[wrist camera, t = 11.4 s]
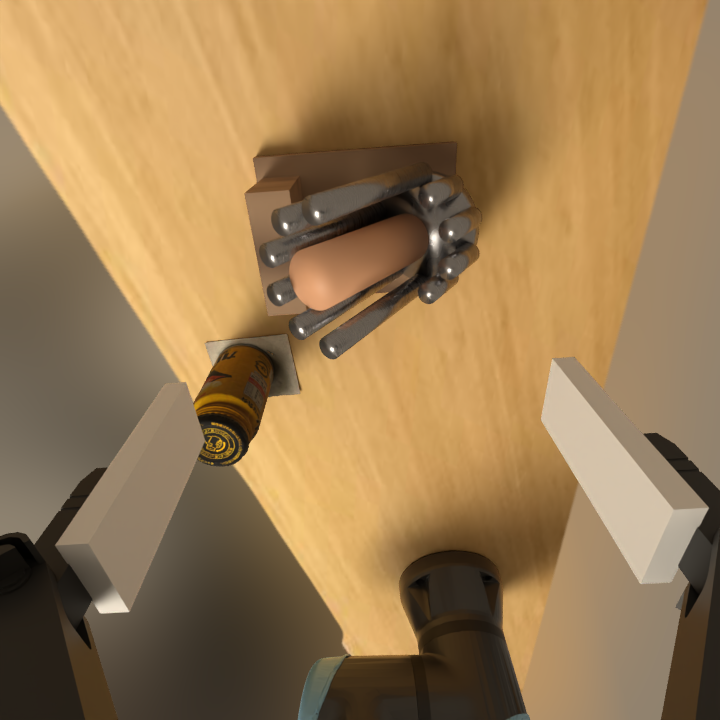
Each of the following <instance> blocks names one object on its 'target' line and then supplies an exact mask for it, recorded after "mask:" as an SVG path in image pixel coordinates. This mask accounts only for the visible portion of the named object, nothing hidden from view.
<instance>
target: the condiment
mask: <svg viewBox="0 0 720 720" xmlns="http://www.w3.org/2000/svg"><path fill="white" fill-rule="evenodd" d="M205 346H206V349H207V352H208V354H209V357H210V360H211V362H212V365H213V368H212V369H211V371H210V373H209V375H208V377H207V379H206V381H205V383H204V385H203V387H202V389H201V391H200V392H199V394H198V396H197V398H196V399H195V401H194V403H193V405H194V408H195V411H196V414H197V417H198V420H199V423H200V426H201V430H202V433H203V436H204V439H205V442H204V444H203V447H202V449H201V451H200V453H199V456H198V458H197V460H199V461H200V462H203V463H205V464H207V465H211V466H229V465H232V464H235V463H236V462H238V461H239V460H240V459H241V458H242V457H243V456H244V455H245V454H246V452H247V451H248V448H249V443H250V442H251V440H252V439H253V438H254V437H255V435H256V434H257V431H258V430H259V426H260V422H261V419H262V415H263V412H264V408H265V405H266V402H267V398H268V397H271V396H280V395H294V394H300V390H299V385H298V380H297V376H296V371H295V366H294V362H293V357H292V354H291V349H290V344H289V340H288V336H287V334H282V335H273V336H265V337H254V338H242V339H234V340H223V341H214V342H207V343H205ZM267 351H269V352H270V353H268V352H267ZM271 353H273V354H274V355H272V354H271Z"/></svg>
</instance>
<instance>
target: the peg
mask: <svg viewBox="0 0 720 720" xmlns="http://www.w3.org/2000/svg"><path fill="white" fill-rule="evenodd" d="M428 241H429V240H428V233H427V230H426V227H425V225H424V224H423V222H422V221H421V220H420V219H419V218H417V217H416V216H414V215H412V214H407V213H404V214H400V215H397V216H394V217H391V218H388V219H386V220H383V221H380V222H377V223H374V224H372V225H369V226H366V227H363V228H360V229H358V230H355V231H352V232H349V233H346V234H344V235H341V236H338V237H335V238H333V239H330V240H327V241H324V242H321V243H319V244H316V245H313V246H310V247H307V248H305V249H302V250H299V251H298V252H297V253H295V255H294V256H293V257H292V259H291V262H290V267H289V276H290V281H291V284H292V287H293V289H294V291H295V293H296V295H297V296H298V298H299V299H300V300H301V301H302V302H303V303H304V304H305V305H306V306H308V307H310V308H312V309H314V310H319V311H321V310H326V309H328V308H330V307H332V306H334V305H336V304H338V303H339V302H341V301H343V300H345V299H347V298H349V297H351V296H352V295H354V294H356V293H358V292H360V291H362V290H364V289H365V288H367V287H369V286H371V285H373V284H375V283H377V282H378V281H380V280H382V279H384V278H386V277H388V276H390V275H391V274H393V273H395V272H397V271H399V270H401V269H403V268H404V267H406V266H408V265H410V264H412V263H414V262H416V261H417V260H419V259H420V258H422V257H423V255H424V254H425V252H426V250H427V247H428Z"/></svg>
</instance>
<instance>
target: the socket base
mask: <svg viewBox="0 0 720 720" xmlns="http://www.w3.org/2000/svg"><path fill="white" fill-rule="evenodd" d="M456 153H457V143H456V142H442V143H429V144H416V145H402V146H389V147H376V148H362V149H349V150H336V151H322V152H309V153H296V154H283V155H269V156H256V157H254V158H253V162H254V167H255V173H256V179H257V183H256V184H255V185H254V186H253V187H252V188H250V189H249V190H248V191H247V192H246V193H244V194H245V199H246V204H247V209H248V214H249V219H250V225H251V230H252V235H253V240H254V245H255V250H256V255H257V261H258V266H259V271H260V276H261V281H262V286H263V291H264V297H265V302H266V307H267V312H268V316H275V315H290V314H301V313H302V312H304V311H306V310H307V309H308V306H306V305H305V304H304V303H303V302H302V301H301V300H300V299H299V298H298V297H297V298H295V299H294V300H292V301H290V302H288V303H286V304H284V305H282V306H275V305H274V304H273V303H272V302H271V301H270V300H269V298H268V295H267V286H268V285H269V284H271V283H273V282H275V281H277V280H279V279H282V278H284V277H286V276H288V275H289V267H290V262H291V260H290V261H288V262H286V263H283V264H281V265H279V266H277V267H274V268H269V267H267V266H266V265H265V264H264V263H263V262H262V260H261V258H260V254H259V248H260V246H261V244H263V243H265V242H268V241H271V240H273V239H276V238H279V237H281V235H279V234H278V233H277V232H276V231H275V230H274V228H273V226H272V222H271V215H272V212H273V211H274V210H275V209H277V208H280V207H284V206H287V205H290V204H293V203H297V202H300V201H303V200H304V198H305V197H307V196H309V195H312V194H316V193H319V192H322V191H326V190H329V189H332V188H336V187H339V186H342V185H346V184H349V183H352V182H356V181H359V180H362V179H366V178H369V177H372V176H376V175H379V174H382V173H386V172H389V171H392V170H396V169H399V168H402V167H405V166H409V165H412V164H415V163H419V162H426V163H427V164H429V166H430V167H431V170H432V171H435V172H440V173H443V174H446V175H448V176H449V175H452V174H455V175H456ZM378 222H379V221H378ZM376 223H377V222H376ZM371 225H372V224H371ZM408 279H409V277H407V276H405V275H403V274H402V275H401V276H400V277H399V278H397V279H396V280H394V281H393V282H391V283H389V284H388V285H386V286H385V287H383V288H382V289H380V290H379V291H377V292H376V293H385V292H390V291H392V290H393V289H395V288H396V287H398V286H399V285H401V284H402V283H404V282H405V281H407V280H408Z"/></svg>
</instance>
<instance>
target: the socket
mask: <svg viewBox="0 0 720 720" xmlns="http://www.w3.org/2000/svg"><path fill="white" fill-rule="evenodd" d="M404 213H407V214H412V215H414V216H416V217H417V218H419V219H420V220H421V221H422V222H423V224H424V225H425V227H426V230H427V233H428V240H429V241H428V247H427V250H426V252H425V254H424V255H423V257H422V258H420V259H419V260H417V261H416V262H414V263H412V264H410V265H408V266H406V267H404V268H403V269H401V270H399V271H397V272H395V273H393V274H391V275H390V276H388V277H386V278H384V279H382V280H380V281H378V282H377V283H375V284H373V285H371V286H369V287H367V288H365V289H364V290H362V291H360V292H358V293H356V294H354V295H352V296H351V297H349V298H347V299H345V300H343V301H341V302H339V303H338V304H336V305H334V306H332V307H330V308H328V309H326V310H321V311H319V310H314V309H312V308H309V309H307V310H306V311H304V312H302V313H301V314H299V315H297V316H295V317H294V318H292V319H291V320H290V321H289V328H290V331H291V333H292V334H293V335H294V336H295V337H296V338H297V339H299V340H304V339H306V338H307V337H309V336H310V335H312V334H313V333H315V332H316V331H318V330H319V329H321V328H322V327H324V326H325V325H327V324H328V323H330V322H331V321H333V320H335V319H336V318H338V317H339V316H341V315H342V314H344V313H345V312H347V311H348V310H350V309H351V308H353V307H354V306H356V305H357V304H359V303H360V302H362V301H364V300H365V299H367V298H368V297H370V296H371V295H373V294H374V293H376V292H377V291H379V290H380V289H382V288H383V287H385V286H386V285H388V284H389V283H391V282H393V281H394V280H396V279H397V278H399V277H400V276H401V275H402V274H403V275H405V276H407V277H409V279H408V280H407V281H405V282H404V283H402V284H401V285H399V286H398V287H396V288H395V289H393V290H392V291H390V292H389V293H387V294H386V295H385V296H383V297H382V298H380V299H379V300H377V301H376V302H374V303H373V304H371V305H370V306H368V307H367V308H366V309H364V310H363V311H361V312H360V313H358V314H357V315H355V316H354V317H352V318H351V319H349V320H348V321H346V322H345V323H344V324H342V325H341V326H339V327H338V328H336V329H335V330H333V331H332V332H330V333H329V334H327V335H326V336H324V337H323V338H322V339H321V340H320V343H319V345H320V349H321V351H322V353H323V354H324V355H325V356H326V357H327V358H329V359H336V358H338V357H339V356H340V355H341V354H343V353H344V352H345V351H347V350H348V349H349V348H351V347H352V346H353V345H355V344H356V343H357V342H358V341H360V340H361V339H362V338H364V337H365V336H366V335H368V334H369V333H370V332H372V331H373V330H374V329H375V328H377V327H378V326H379V325H381V324H382V323H383V322H385V321H386V320H387V319H389V318H390V317H391V316H393V315H394V314H395V313H396V312H398V311H399V310H400V309H402V308H403V307H404V306H406V305H407V304H408V303H410V302H411V301H412V300H413V299H415V298H416V297H417V296H419V298H420V300H421V301H422V302H424V303H426V304H431V303H434V302H435V301H436V300H437V299H438V298H440V297H441V296H442V295H443V294H444V293H446V292H447V291H448V290H449V289H450V288H452V287H453V286H454V285H455V284H456V283H457V282H458V279H459V276H458V275H459V274H460V273H462V272H463V271H464V270H465V269H467V268H468V267H469V266H470V265H472V264H473V263H474V262H475V261H476V260H477V259H478V258H479V249H478V247H477V246H476V245H477V241H478V235H479V225H480V224H481V222H482V214H481V211H480V210H479V209H478V208H476V207H475V205H474V202H473V200H472V198H471V196H470V195H469V193H468V192H467V191H466V189H465V188H464V184H463V181H462V179H461V178H460V177H459V176H458V175H455V174H452V175H449V176H448V175H446V174H443V173H440V172H435V171H432V170H431V167H430V166H429V164H427V163H426V162H419V163H415V164H412V165H409V166H405V167H402V168H399V169H396V170H392V171H389V172H386V173H382V174H379V175H376V176H372V177H369V178H366V179H362V180H359V181H356V182H352V183H349V184H346V185H342V186H339V187H336V188H332V189H329V190H326V191H322V192H319V193H316V194H312V195H309V196H307V197H305V198H304V200H303V201H300V202H297V203H293V204H290V205H287V206H284V207H280V208H277V209H275V210H274V211H273V212H272V215H271V222H272V226H273V228H274V230H275V231H276V232H277V233H278V234H279V235H281V237H279V238H276V239H273V240H271V241H268V242H265V243H263V244H261V246H260V248H259V254H260V258H261V260H262V262H263V263H264V264H265V265H266V266H267V267H269V268H274V267H277V266H279V265H281V264H283V263H286V262H288V261H290V260H291V259H292V257H293V256H294V255H295V253H297V252H298V251H299V250H302V249H305V248H307V247H310V246H313V245H316V244H319V243H321V242H324V241H327V240H330V239H333V238H335V237H338V236H341V235H344V234H346V233H349V232H352V231H355V230H358V229H360V228H363V227H366V226H369V225H371V224H374V223H376V222H378V221H379V222H380V221H383V220H386V219H388V218H391V217H394V216H397V215H400V214H404ZM267 295H268V298H269V300H270V301H271V302H272V303H273V304H274V305H275V306H282V305H284V304H286V303H288V302H290V301H292V300H294V299H295V298H297V297H298V296H297V295H296V293H295V291H294V289H293V287H292V284H291V281H290V276H289V275H288V276H286V277H284V278H282V279H279V280H277V281H275V282H273V283H271V284H269V285H268V286H267Z"/></svg>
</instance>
